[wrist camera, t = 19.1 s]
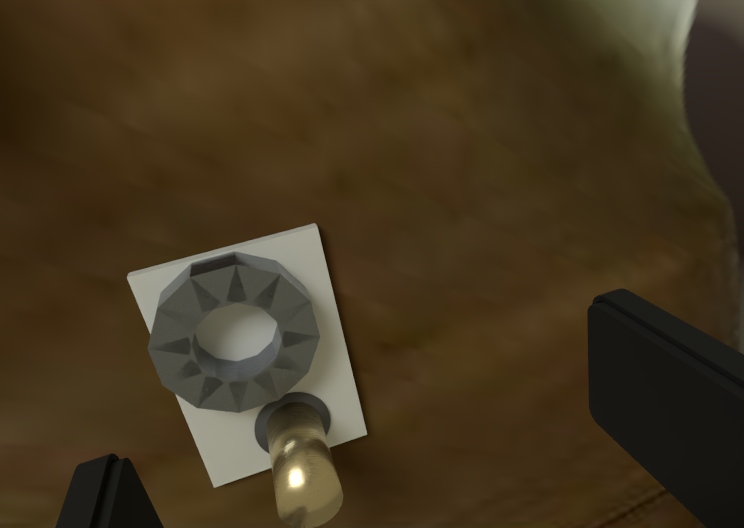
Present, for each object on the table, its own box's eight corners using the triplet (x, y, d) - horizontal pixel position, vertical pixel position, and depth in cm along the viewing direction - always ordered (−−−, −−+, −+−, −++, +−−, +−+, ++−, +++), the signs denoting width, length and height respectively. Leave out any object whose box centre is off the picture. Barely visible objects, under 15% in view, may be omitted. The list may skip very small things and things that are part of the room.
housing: (291, 236, 42) (296, 247, 39) (325, 364, 47) (332, 382, 44) (130, 279, 40) (124, 294, 37) (184, 409, 45) (182, 431, 42)
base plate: (315, 223, 43) (318, 227, 42) (364, 427, 52) (368, 436, 51) (128, 272, 41) (126, 278, 39) (214, 479, 49) (214, 490, 48)
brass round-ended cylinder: (313, 394, 48) (335, 467, 39) (325, 436, 50) (348, 514, 41) (259, 412, 47) (270, 490, 38) (273, 454, 49) (286, 537, 40)
